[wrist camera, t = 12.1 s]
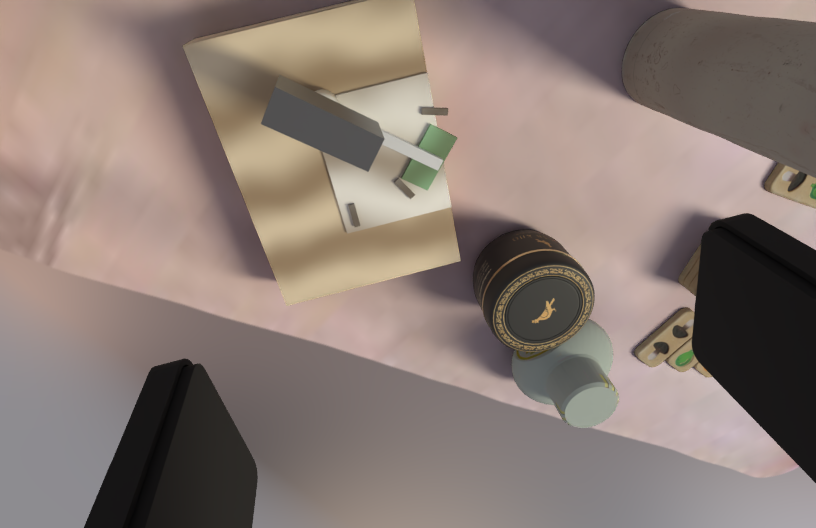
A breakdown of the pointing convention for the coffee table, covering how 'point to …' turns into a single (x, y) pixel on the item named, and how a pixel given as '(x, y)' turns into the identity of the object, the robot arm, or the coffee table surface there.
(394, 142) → the peg
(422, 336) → the coffee table surface
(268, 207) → the tan flat box
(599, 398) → the pale green rounded vessel
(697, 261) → the pile of dominoes
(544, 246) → the jar
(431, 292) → the coffee table surface
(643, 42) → the thermos bottle
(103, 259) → the coffee table surface
